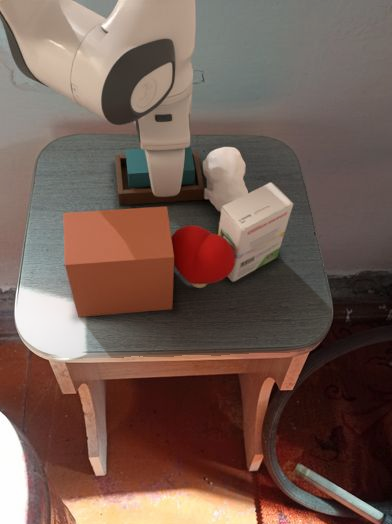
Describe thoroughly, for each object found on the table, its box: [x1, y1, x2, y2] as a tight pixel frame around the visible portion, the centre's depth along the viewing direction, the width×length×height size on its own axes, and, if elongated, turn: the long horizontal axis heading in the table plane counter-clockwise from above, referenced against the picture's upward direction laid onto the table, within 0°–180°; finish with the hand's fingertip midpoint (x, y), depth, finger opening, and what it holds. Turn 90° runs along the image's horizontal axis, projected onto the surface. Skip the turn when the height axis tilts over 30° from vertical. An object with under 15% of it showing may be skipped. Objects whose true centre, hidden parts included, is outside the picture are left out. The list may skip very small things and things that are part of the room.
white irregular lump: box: [202, 146, 249, 225], centre depth 84 cm, size 6×8×12 cm
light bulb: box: [171, 224, 235, 289], centre depth 76 cm, size 9×7×10 cm
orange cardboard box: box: [62, 206, 175, 318], centre depth 74 cm, size 13×8×12 cm, turn 97°
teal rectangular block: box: [125, 145, 195, 188], centre depth 86 cm, size 10×5×3 cm, turn 97°
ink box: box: [217, 182, 294, 283], centre depth 78 cm, size 8×5×12 cm, turn 125°
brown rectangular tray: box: [114, 150, 205, 206], centre depth 88 cm, size 13×8×2 cm, turn 97°
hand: (159, 171), depth 87 cm, fingers closed on teal rectangular block, 5 cm apart
